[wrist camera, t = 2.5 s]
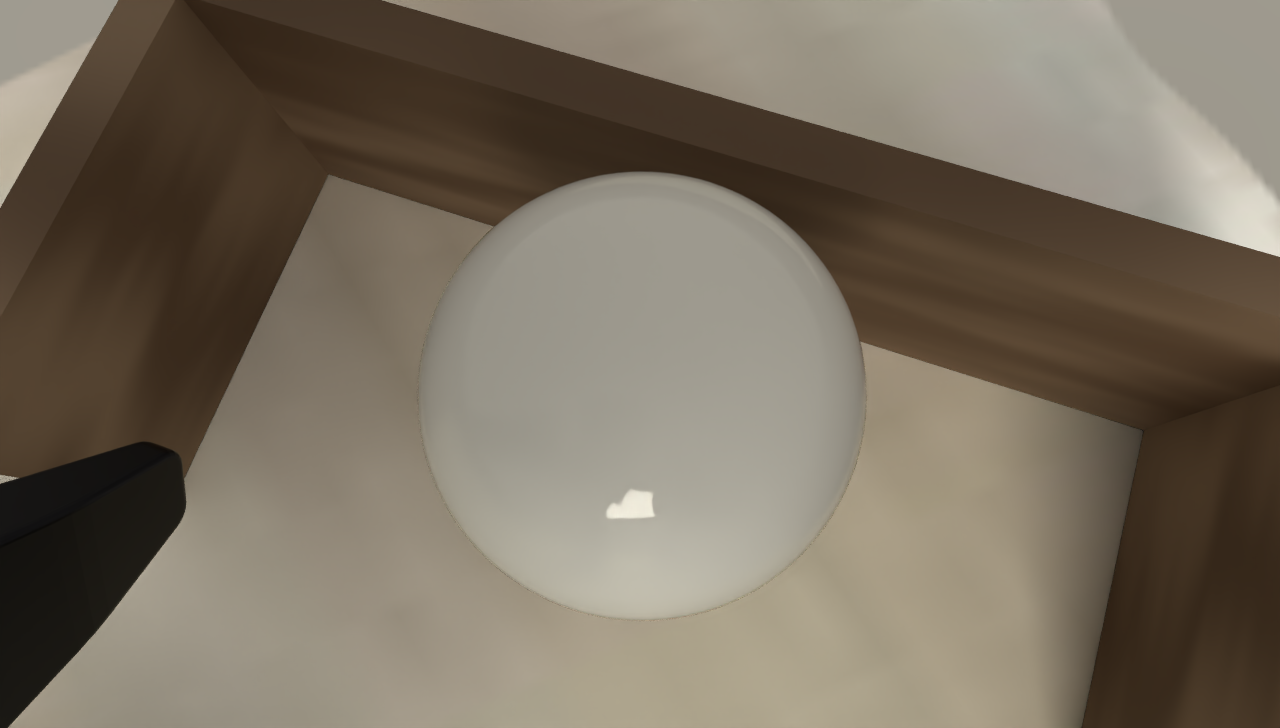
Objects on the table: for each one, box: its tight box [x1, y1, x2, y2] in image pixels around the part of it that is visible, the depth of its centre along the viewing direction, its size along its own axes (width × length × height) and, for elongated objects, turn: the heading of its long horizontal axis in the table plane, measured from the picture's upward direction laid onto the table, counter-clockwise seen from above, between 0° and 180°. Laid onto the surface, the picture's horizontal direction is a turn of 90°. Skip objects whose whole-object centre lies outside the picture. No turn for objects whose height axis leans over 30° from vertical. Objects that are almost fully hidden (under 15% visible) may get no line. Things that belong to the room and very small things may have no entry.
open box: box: [0, 0, 1280, 728], centre depth 17 cm, size 10×23×7 cm, turn 71°
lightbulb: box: [418, 171, 867, 621], centre depth 15 cm, size 6×6×11 cm
